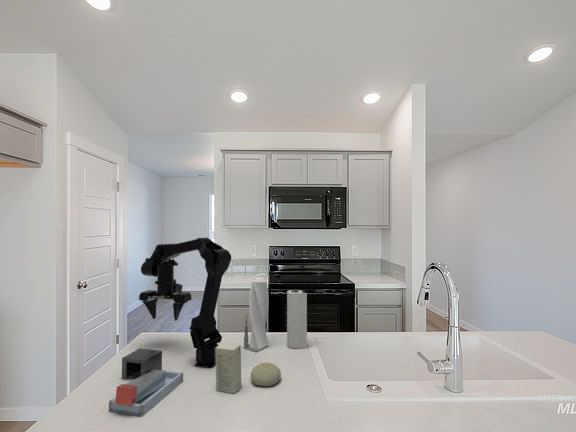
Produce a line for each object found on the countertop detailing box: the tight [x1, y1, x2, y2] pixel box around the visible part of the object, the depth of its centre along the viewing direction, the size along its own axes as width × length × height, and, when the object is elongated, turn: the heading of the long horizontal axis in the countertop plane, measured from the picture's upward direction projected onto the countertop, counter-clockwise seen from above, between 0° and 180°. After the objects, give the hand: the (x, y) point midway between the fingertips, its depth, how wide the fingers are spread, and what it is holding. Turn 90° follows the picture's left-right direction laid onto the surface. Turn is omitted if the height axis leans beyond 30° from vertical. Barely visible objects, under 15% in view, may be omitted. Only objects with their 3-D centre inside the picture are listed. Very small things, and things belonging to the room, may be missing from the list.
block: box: [121, 347, 163, 381], centre depth 102 cm, size 8×8×6 cm
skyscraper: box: [242, 273, 270, 353], centre depth 126 cm, size 8×8×28 cm
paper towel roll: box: [286, 289, 308, 349], centre depth 126 cm, size 7×6×21 cm
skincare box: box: [215, 342, 242, 394], centre depth 94 cm, size 6×4×12 cm
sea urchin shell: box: [250, 362, 282, 387], centre depth 98 cm, size 9×8×8 cm
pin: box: [115, 369, 167, 406], centre depth 88 cm, size 4×15×4 cm, turn 167°
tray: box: [108, 369, 184, 417], centre depth 90 cm, size 10×19×2 cm, turn 166°
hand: (165, 319), depth 120 cm, fingers open, 9 cm apart
